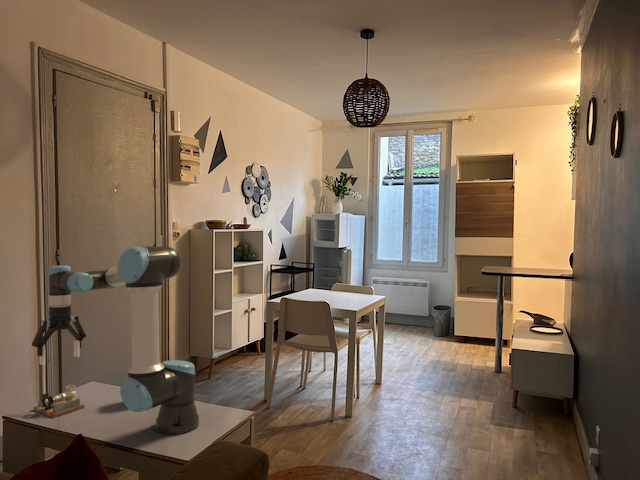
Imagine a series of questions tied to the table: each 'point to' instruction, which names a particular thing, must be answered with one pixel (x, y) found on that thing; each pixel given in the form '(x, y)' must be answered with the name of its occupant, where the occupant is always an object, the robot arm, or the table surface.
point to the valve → (59, 397)
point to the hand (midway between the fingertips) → (60, 360)
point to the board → (59, 407)
